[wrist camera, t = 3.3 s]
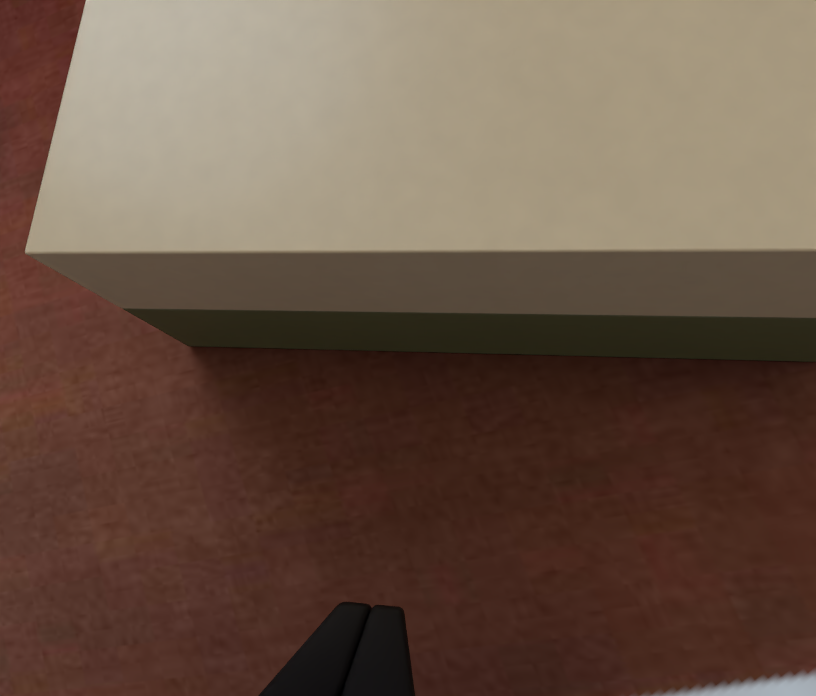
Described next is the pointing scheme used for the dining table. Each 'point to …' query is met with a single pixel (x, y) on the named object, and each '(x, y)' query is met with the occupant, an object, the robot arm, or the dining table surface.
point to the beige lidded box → (444, 174)
